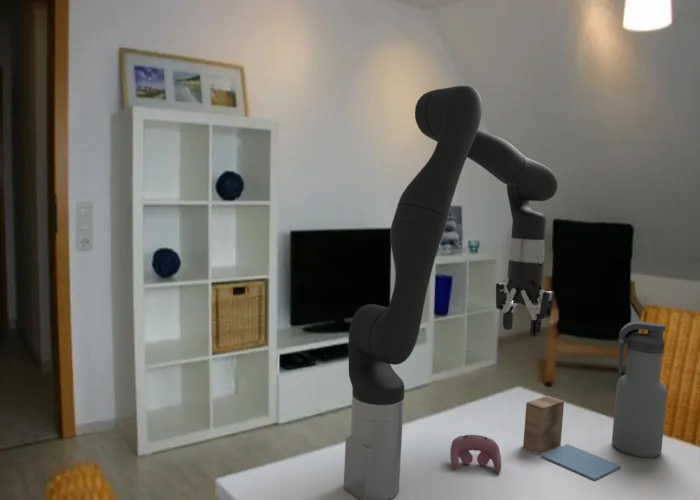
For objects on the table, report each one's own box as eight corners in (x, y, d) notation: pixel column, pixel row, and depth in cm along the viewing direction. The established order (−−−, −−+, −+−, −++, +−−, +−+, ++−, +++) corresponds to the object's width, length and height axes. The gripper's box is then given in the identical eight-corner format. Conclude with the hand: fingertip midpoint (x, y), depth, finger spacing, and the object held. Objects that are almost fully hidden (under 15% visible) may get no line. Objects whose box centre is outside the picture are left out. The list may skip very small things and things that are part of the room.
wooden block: (539, 454, 121) (542, 408, 120) (521, 446, 124) (525, 401, 123) (560, 445, 125) (564, 401, 124) (543, 438, 129) (546, 395, 128)
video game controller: (498, 473, 114) (498, 437, 117) (502, 473, 110) (502, 435, 112) (449, 469, 115) (449, 433, 118) (451, 469, 111) (451, 431, 113)
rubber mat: (594, 480, 110) (594, 478, 110) (540, 456, 119) (540, 454, 119) (620, 467, 116) (621, 465, 116) (567, 445, 125) (567, 444, 125)
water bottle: (608, 451, 124) (619, 324, 121) (610, 435, 132) (621, 316, 130) (661, 462, 119) (674, 331, 116) (660, 445, 127) (672, 322, 125)
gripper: (489, 256, 130) (484, 327, 132) (544, 263, 119) (538, 342, 120) (509, 255, 135) (505, 324, 136) (564, 262, 123) (558, 337, 125)
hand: (520, 332), depth 128 cm, fingers open, 6 cm apart
